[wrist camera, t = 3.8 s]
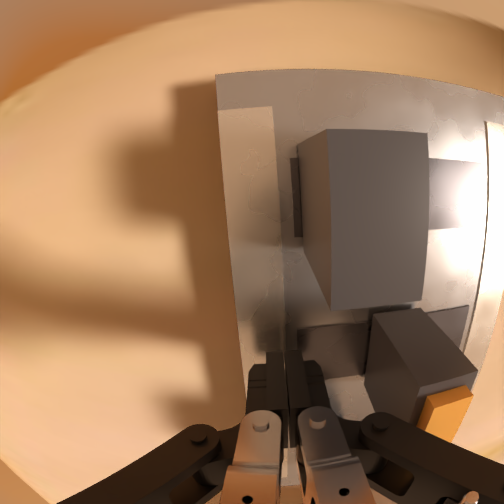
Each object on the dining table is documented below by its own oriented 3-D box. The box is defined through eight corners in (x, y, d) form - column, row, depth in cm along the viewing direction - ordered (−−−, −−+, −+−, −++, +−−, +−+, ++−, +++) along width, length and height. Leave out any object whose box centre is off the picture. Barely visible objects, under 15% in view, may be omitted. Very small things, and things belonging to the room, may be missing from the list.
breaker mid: (420, 307, 12) (487, 380, 7) (406, 376, 13) (450, 455, 8) (372, 314, 12) (427, 399, 7) (363, 384, 13) (397, 472, 8)
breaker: (361, 142, 10) (427, 132, 6) (363, 247, 12) (421, 300, 7) (297, 143, 11) (326, 128, 6) (303, 250, 12) (330, 311, 7)
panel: (485, 102, 11) (508, 98, 9) (432, 437, 18) (441, 455, 16) (221, 86, 12) (214, 74, 10) (258, 466, 19) (258, 488, 17)
